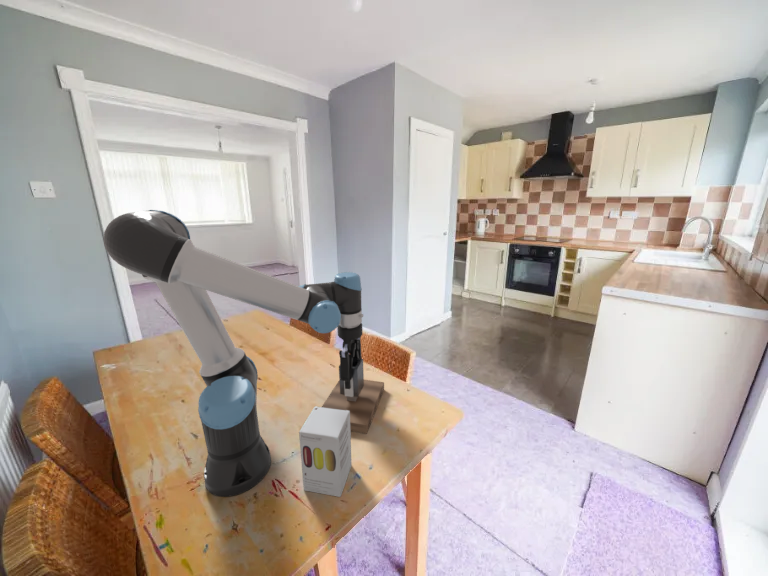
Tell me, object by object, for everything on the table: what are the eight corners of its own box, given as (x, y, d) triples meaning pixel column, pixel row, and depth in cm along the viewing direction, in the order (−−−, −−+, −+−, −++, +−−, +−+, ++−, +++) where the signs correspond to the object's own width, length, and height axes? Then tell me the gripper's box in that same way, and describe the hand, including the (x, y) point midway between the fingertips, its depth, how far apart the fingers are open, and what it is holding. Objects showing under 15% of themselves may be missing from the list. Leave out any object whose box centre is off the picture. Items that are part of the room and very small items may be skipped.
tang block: (366, 433, 89) (366, 404, 86) (315, 424, 93) (313, 396, 90) (384, 389, 110) (384, 364, 107) (341, 383, 113) (340, 359, 110)
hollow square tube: (358, 396, 96) (357, 368, 93) (340, 394, 98) (338, 366, 95) (363, 385, 102) (363, 358, 99) (346, 383, 103) (345, 356, 100)
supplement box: (302, 491, 72) (296, 431, 67) (317, 459, 81) (313, 404, 76) (341, 498, 70) (338, 437, 65) (352, 464, 79) (350, 409, 74)
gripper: (351, 338, 83) (354, 410, 90) (370, 313, 101) (371, 374, 108) (325, 335, 85) (330, 406, 92) (348, 311, 103) (351, 372, 109)
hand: (352, 389), depth 100 cm, fingers closed on hollow square tube, 6 cm apart
